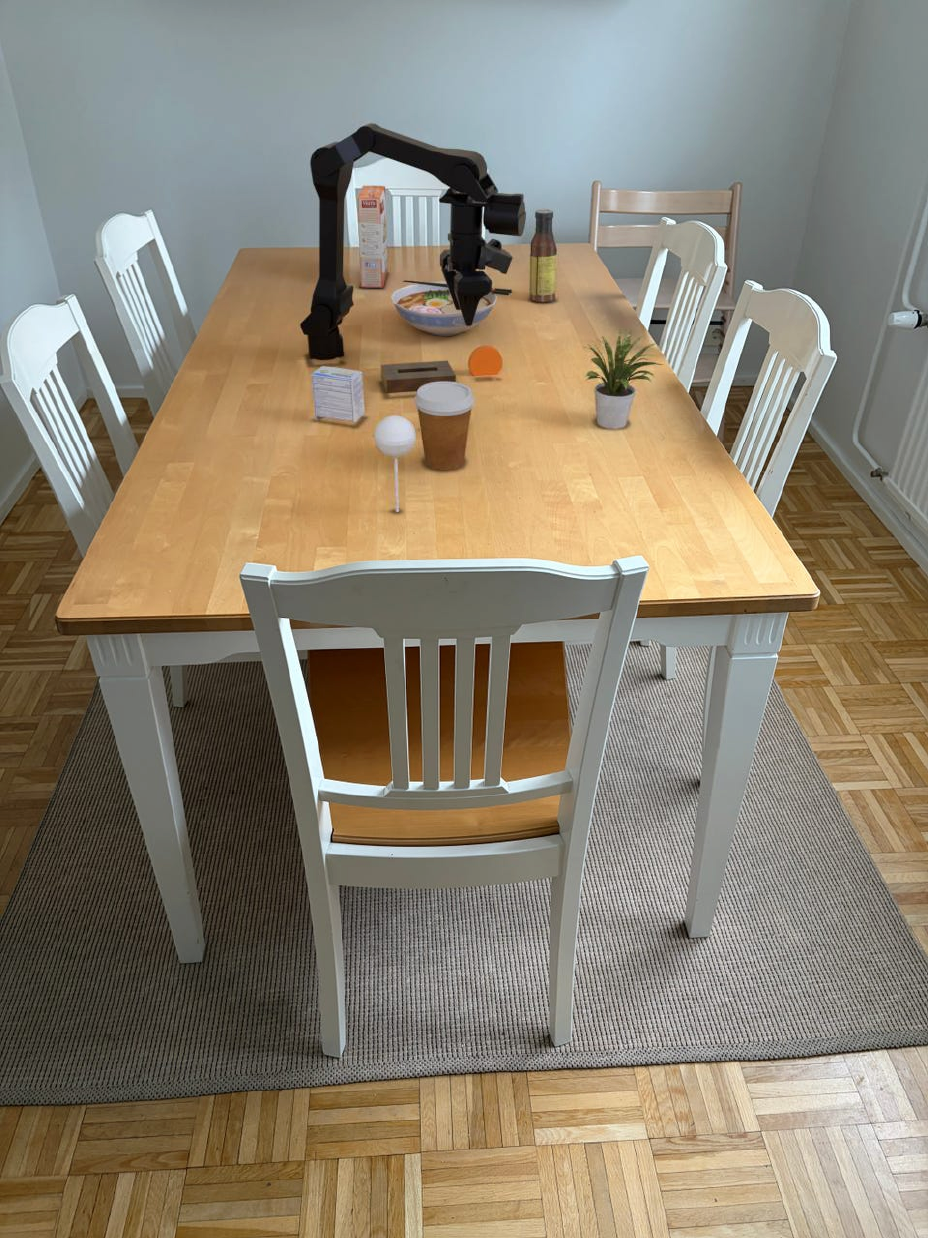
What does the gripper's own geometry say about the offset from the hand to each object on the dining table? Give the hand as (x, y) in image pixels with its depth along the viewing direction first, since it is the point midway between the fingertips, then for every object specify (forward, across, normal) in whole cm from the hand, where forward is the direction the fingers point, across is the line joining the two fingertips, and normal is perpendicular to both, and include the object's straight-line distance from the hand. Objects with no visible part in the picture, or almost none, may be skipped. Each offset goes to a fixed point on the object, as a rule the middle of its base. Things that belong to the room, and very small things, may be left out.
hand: (463, 317), depth 179 cm
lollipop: (+12, -52, +20) cm, 57 cm away
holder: (+12, -4, +10) cm, 16 cm away
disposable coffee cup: (+12, -36, +10) cm, 40 cm away
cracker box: (+12, +66, +9) cm, 68 cm away
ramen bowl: (+12, +26, -2) cm, 29 cm away
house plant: (+11, -27, -21) cm, 36 cm away
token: (+11, -2, -4) cm, 12 cm away
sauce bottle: (+12, +45, -28) cm, 54 cm away
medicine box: (+12, -16, +25) cm, 33 cm away
